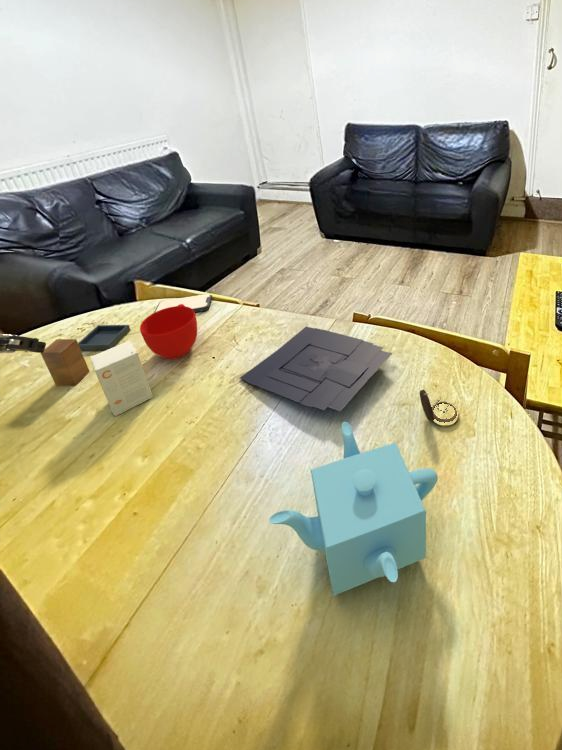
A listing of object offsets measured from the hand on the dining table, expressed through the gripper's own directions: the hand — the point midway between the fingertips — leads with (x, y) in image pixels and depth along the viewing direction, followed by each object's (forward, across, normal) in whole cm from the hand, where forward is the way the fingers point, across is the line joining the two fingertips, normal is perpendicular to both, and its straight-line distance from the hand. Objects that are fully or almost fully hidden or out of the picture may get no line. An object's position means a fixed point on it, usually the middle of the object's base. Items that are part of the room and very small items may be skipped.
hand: (24, 347), depth 89 cm
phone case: (+38, -13, -16) cm, 43 cm away
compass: (+8, -89, +13) cm, 90 cm away
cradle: (+26, +2, -5) cm, 27 cm away
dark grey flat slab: (+17, -61, +4) cm, 64 cm away
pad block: (+16, 0, +6) cm, 17 cm away
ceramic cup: (+24, -21, -3) cm, 32 cm away
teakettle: (-10, -75, +32) cm, 82 cm away
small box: (+11, -19, +11) cm, 25 cm away
